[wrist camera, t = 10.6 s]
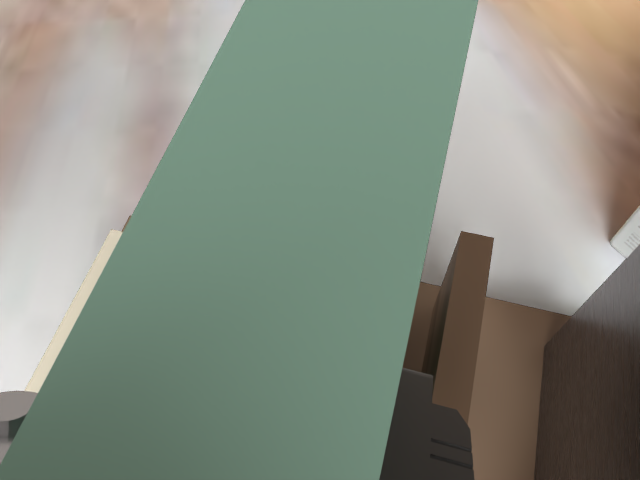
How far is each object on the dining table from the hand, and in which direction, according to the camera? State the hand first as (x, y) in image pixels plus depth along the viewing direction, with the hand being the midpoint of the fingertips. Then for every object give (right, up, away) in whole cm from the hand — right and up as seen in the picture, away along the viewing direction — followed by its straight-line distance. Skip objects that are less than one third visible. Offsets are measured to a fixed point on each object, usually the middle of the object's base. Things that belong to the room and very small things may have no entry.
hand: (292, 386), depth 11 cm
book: (+1, -4, +8) cm, 9 cm away
